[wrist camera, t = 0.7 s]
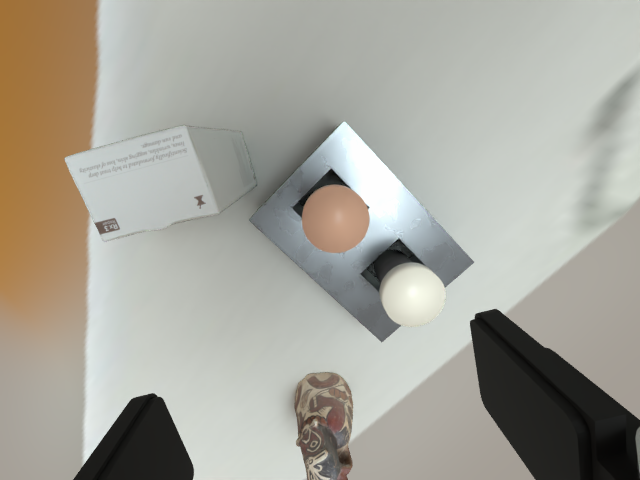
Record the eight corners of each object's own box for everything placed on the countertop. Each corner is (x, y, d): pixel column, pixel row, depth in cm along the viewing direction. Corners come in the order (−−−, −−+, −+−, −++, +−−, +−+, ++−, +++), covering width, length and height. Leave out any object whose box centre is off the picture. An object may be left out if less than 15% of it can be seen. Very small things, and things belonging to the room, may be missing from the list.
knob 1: (329, 166, 31) (336, 171, 23) (366, 204, 32) (383, 220, 24) (292, 204, 31) (287, 220, 24) (329, 240, 33) (335, 265, 25)
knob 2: (393, 232, 33) (418, 256, 25) (426, 266, 34) (458, 298, 26) (356, 266, 33) (370, 299, 26) (389, 298, 34) (411, 338, 27)
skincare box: (242, 130, 33) (191, 114, 19) (259, 188, 35) (225, 214, 21) (163, 151, 34) (55, 151, 19) (184, 207, 35) (98, 246, 21)
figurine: (321, 360, 41) (326, 443, 29) (362, 392, 42) (382, 483, 31) (283, 397, 42) (274, 491, 30) (324, 427, 43) (330, 527, 32)
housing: (338, 126, 34) (344, 120, 28) (448, 245, 37) (474, 262, 31) (258, 208, 36) (248, 220, 30) (371, 314, 39) (381, 342, 33)
